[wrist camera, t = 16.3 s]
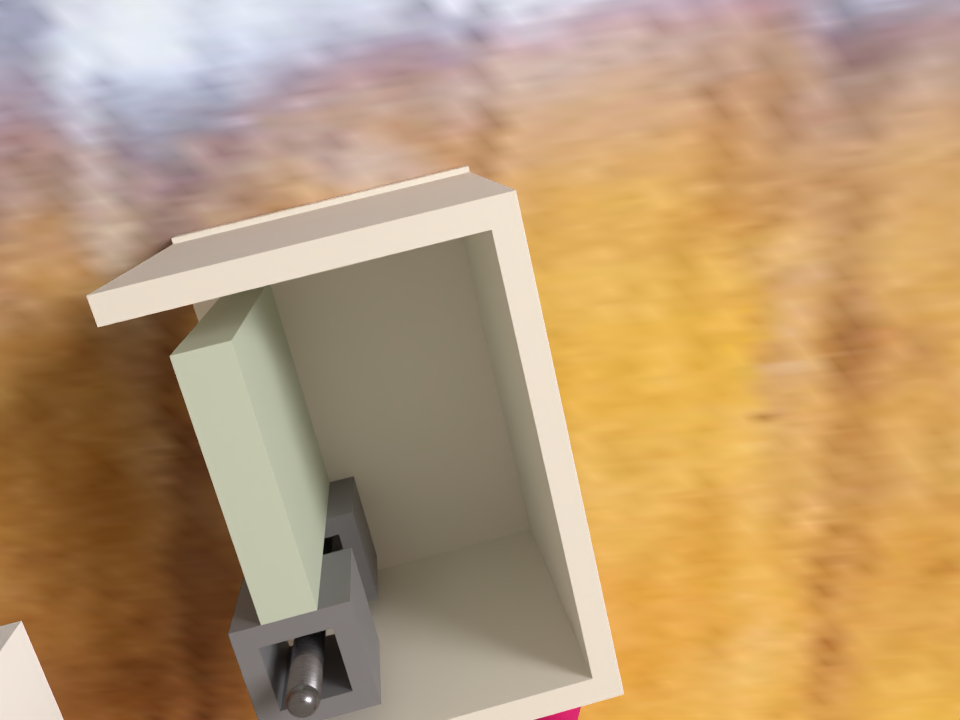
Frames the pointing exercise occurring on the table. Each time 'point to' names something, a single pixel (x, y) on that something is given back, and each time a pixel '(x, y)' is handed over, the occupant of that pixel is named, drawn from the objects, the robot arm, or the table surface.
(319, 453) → the door
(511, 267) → the carcass
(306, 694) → the hinge pin
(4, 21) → the table surface
